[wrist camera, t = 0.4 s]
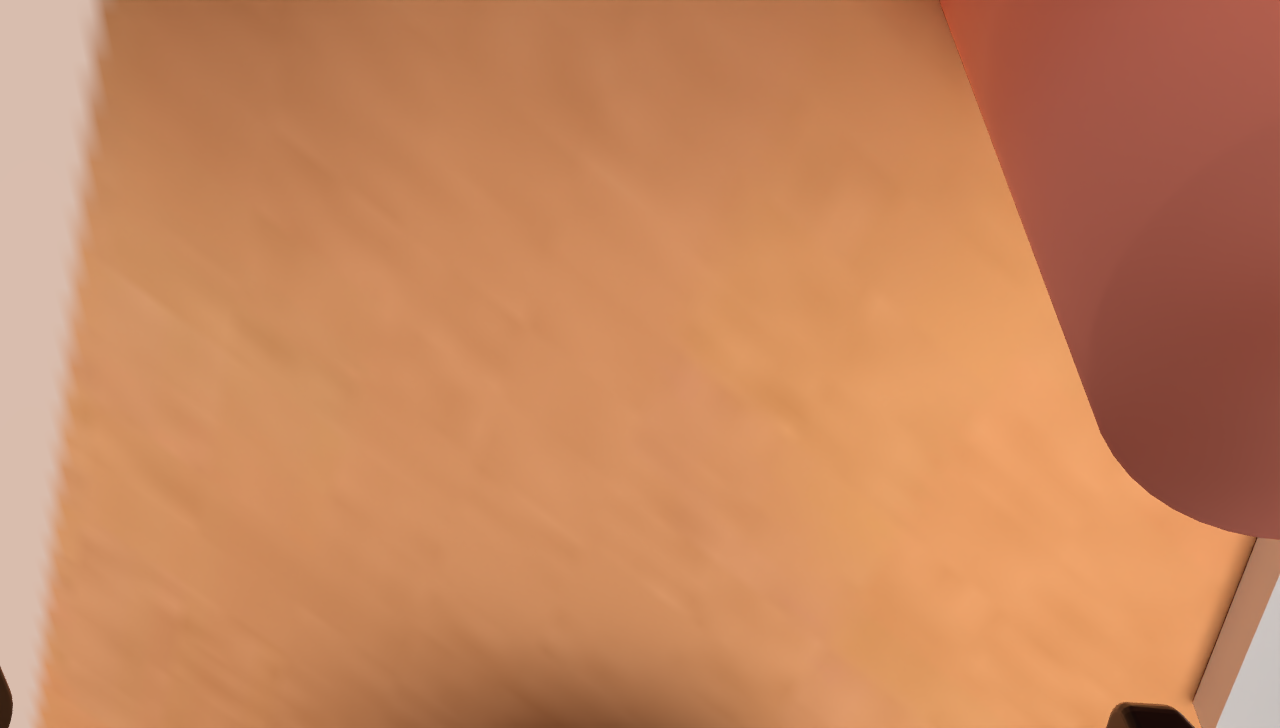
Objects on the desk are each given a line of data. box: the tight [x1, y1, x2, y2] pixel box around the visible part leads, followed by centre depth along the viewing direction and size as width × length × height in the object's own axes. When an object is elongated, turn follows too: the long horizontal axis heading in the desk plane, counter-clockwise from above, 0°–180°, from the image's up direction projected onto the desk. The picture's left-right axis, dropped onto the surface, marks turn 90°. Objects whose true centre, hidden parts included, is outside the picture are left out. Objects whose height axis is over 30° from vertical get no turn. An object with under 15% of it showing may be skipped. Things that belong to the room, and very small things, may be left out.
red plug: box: [939, 0, 1280, 540], centre depth 14 cm, size 4×4×11 cm
